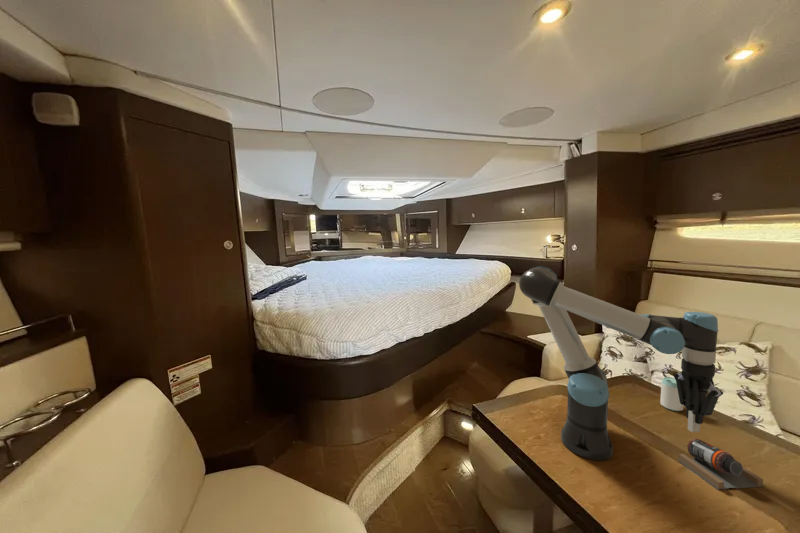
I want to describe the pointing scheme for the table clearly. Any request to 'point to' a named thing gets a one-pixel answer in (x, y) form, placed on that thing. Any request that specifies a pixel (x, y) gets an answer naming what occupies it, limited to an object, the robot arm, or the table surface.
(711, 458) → the supplement bottle
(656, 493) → the table surface
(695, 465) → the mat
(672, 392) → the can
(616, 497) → the table surface
